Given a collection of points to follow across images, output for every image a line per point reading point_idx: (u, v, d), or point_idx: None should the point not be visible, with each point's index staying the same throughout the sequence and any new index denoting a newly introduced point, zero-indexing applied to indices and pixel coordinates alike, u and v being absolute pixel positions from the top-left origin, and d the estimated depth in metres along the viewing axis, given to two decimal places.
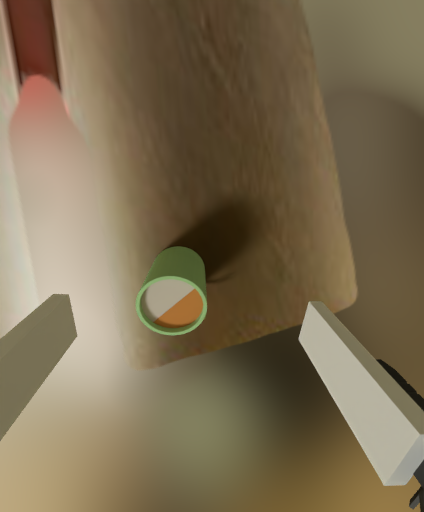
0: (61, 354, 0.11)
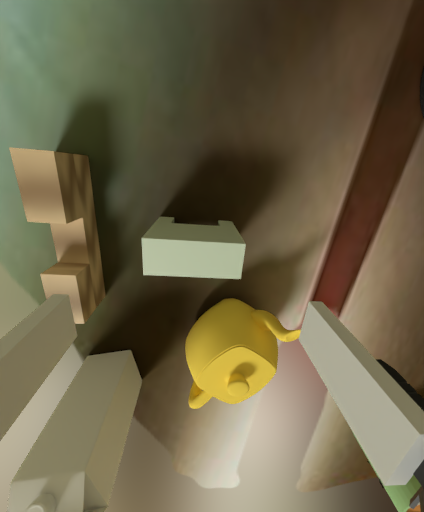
0: (61, 354, 0.11)
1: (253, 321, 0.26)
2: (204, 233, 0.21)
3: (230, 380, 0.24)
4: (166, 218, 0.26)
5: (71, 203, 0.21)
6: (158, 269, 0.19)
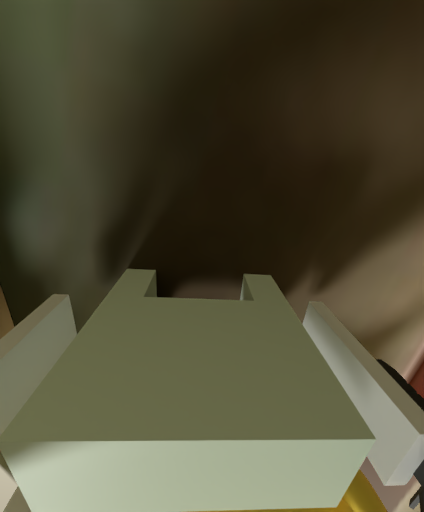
0: (61, 354, 0.11)
1: None
2: (225, 353, 0.08)
3: None
4: (138, 275, 0.12)
5: None
6: (79, 503, 0.06)
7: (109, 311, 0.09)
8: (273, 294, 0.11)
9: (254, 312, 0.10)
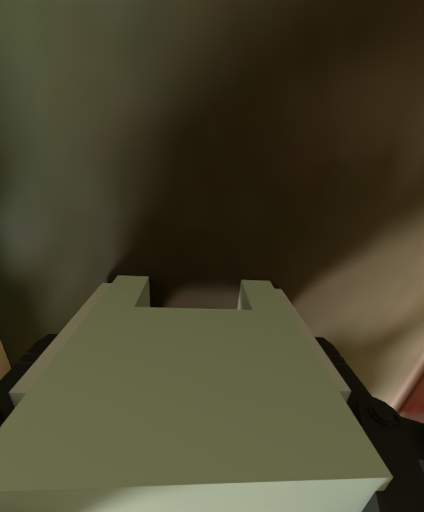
0: None
1: None
2: (221, 373, 0.07)
3: None
4: (129, 283, 0.12)
5: None
6: None
7: (95, 324, 0.09)
8: (273, 302, 0.11)
9: (253, 323, 0.09)
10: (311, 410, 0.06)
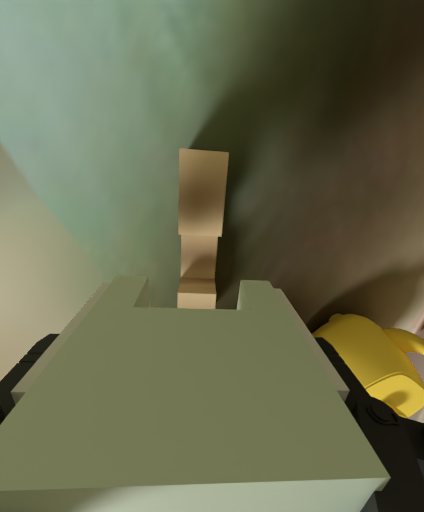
0: None
1: (392, 342, 0.23)
2: (220, 373, 0.07)
3: None
4: (129, 283, 0.12)
5: None
6: None
7: (94, 324, 0.09)
8: (272, 302, 0.11)
9: (252, 323, 0.09)
10: (309, 410, 0.06)
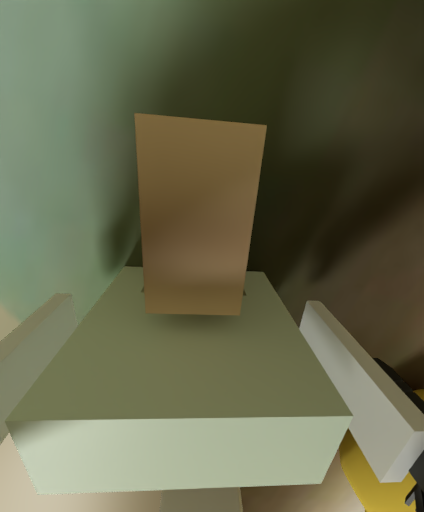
0: None
1: None
2: (217, 343, 0.08)
3: None
4: (135, 272, 0.13)
5: None
6: (81, 482, 0.06)
7: (107, 306, 0.10)
8: (265, 289, 0.12)
9: (246, 306, 0.10)
10: (292, 370, 0.07)
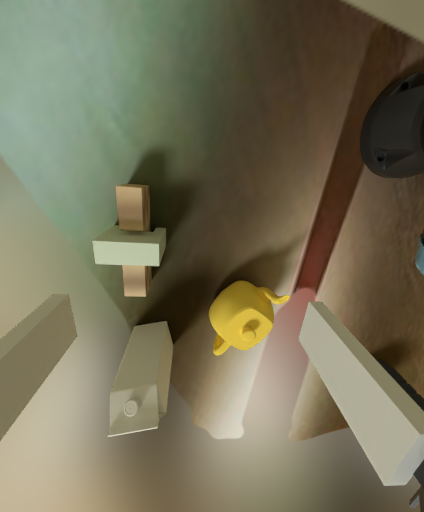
0: (61, 354, 0.11)
1: (257, 294, 0.39)
2: (137, 237, 0.33)
3: (243, 330, 0.37)
4: (118, 226, 0.37)
5: (144, 217, 0.33)
6: (105, 260, 0.31)
7: (109, 231, 0.34)
8: (161, 231, 0.37)
9: (151, 233, 0.35)
10: (152, 240, 0.32)
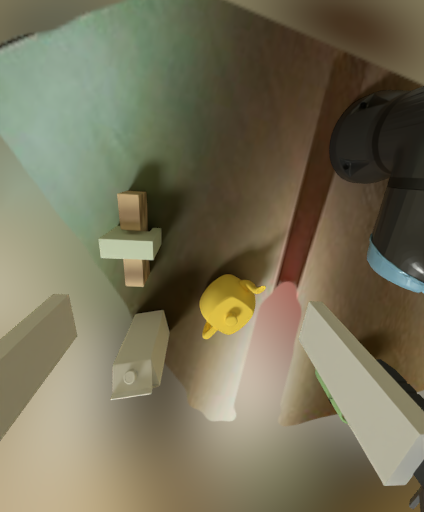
0: (61, 354, 0.11)
1: (240, 285, 0.45)
2: (135, 236, 0.39)
3: (226, 316, 0.42)
4: None
5: (141, 219, 0.40)
6: (108, 255, 0.37)
7: (112, 231, 0.41)
8: (156, 230, 0.43)
9: (147, 232, 0.41)
10: (147, 238, 0.38)
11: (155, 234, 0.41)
